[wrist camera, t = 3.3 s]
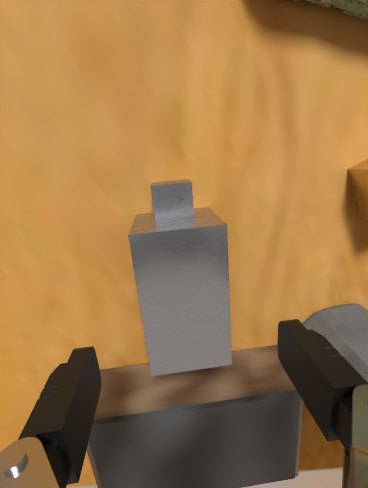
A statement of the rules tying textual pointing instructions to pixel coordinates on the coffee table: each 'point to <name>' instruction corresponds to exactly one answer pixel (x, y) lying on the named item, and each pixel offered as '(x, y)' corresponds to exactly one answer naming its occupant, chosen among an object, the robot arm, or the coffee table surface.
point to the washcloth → (346, 6)
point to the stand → (197, 425)
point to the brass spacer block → (360, 187)
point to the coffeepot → (344, 332)
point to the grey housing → (182, 281)
